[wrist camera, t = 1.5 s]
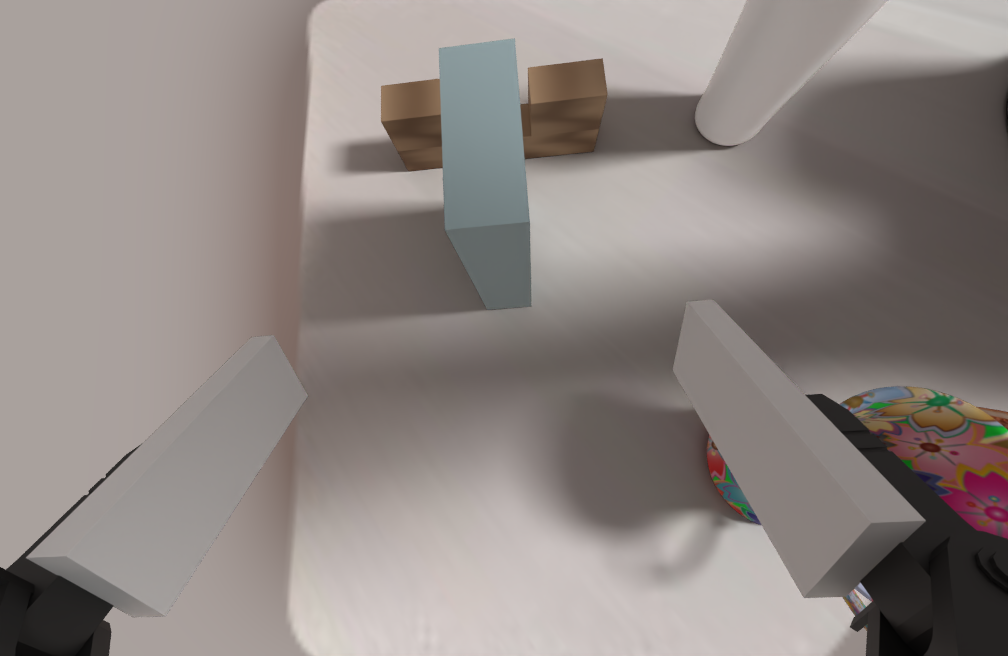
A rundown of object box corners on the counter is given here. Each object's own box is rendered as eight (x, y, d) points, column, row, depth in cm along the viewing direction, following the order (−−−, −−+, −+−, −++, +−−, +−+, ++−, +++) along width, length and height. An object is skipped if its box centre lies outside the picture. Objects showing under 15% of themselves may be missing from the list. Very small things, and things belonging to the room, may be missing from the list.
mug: (686, 392, 26) (788, 389, 16) (821, 387, 25) (1021, 382, 15) (709, 574, 24) (845, 712, 14) (858, 575, 23) (1122, 721, 13)
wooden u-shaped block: (589, 120, 31) (602, 58, 25) (593, 151, 30) (607, 95, 25) (408, 141, 32) (381, 85, 26) (408, 171, 31) (381, 121, 26)
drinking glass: (778, 99, 30) (1016, -189, 15) (754, 168, 29) (984, -68, 14) (697, 77, 31) (846, -213, 16) (672, 143, 30) (806, -101, 15)
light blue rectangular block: (523, 202, 30) (514, 38, 16) (531, 306, 28) (529, 221, 15) (481, 206, 30) (438, 48, 16) (487, 309, 28) (444, 229, 15)
